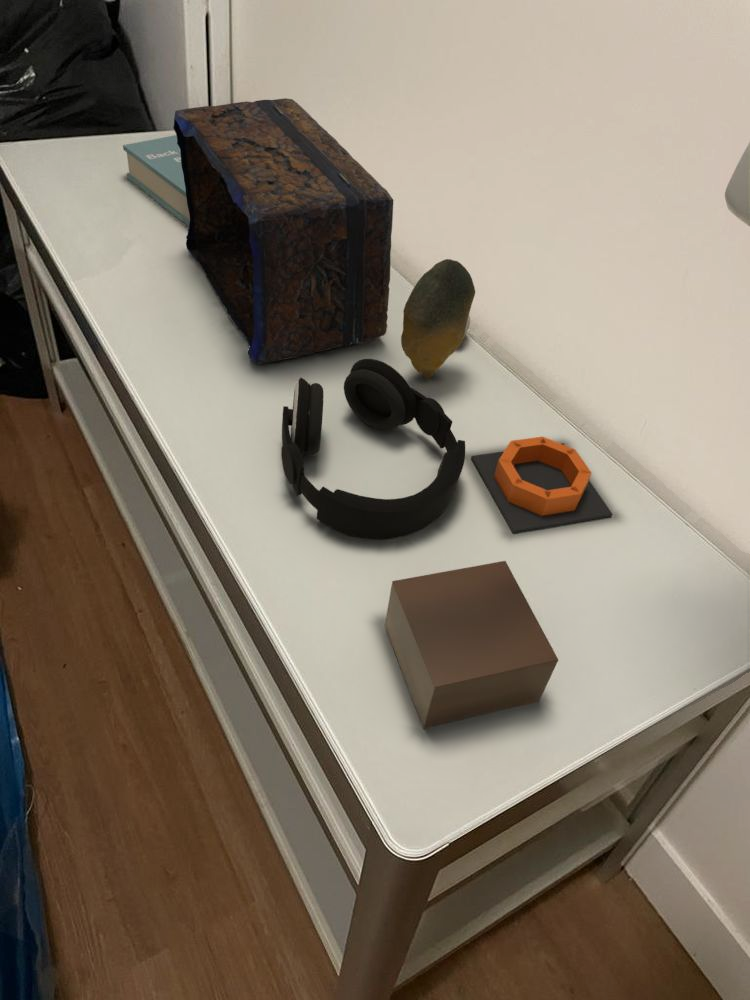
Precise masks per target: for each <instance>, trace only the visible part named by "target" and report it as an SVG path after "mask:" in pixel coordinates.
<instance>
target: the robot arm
mask: <svg viewBox="0 0 750 1000" xmlns="http://www.w3.org/2000/svg"><path fill="white" fill-rule="evenodd" d="M724 200H725V204H726V207H727V210H728V211H729V212H730V213H731V214H733V215H734V216H735V217H736V218H737V219H739V220H740V221H742V222H743V223H744V224H745V225H747V226H748V227H750V141H749V142H748V144H747V146H746V147H745V149H744V151H743V153H742V155H741V157H740V159H739V160H738V162H737V165H736V166H735V169H734V170H733V173H732V174H731V176H730V179H729V181H728V183H727V185H726V188H725V191H724Z"/></svg>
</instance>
